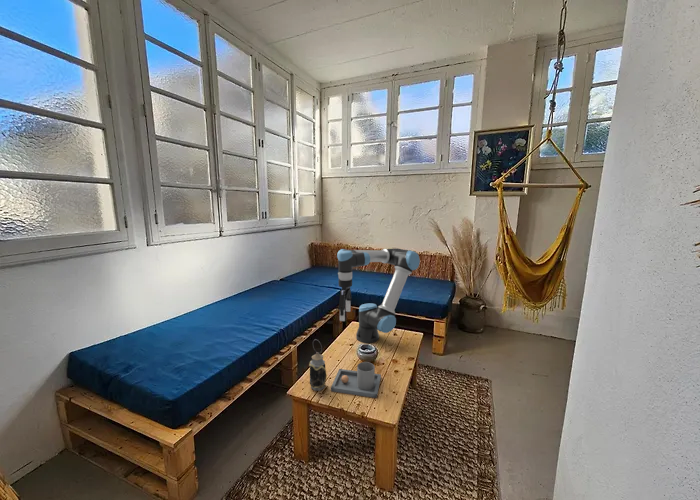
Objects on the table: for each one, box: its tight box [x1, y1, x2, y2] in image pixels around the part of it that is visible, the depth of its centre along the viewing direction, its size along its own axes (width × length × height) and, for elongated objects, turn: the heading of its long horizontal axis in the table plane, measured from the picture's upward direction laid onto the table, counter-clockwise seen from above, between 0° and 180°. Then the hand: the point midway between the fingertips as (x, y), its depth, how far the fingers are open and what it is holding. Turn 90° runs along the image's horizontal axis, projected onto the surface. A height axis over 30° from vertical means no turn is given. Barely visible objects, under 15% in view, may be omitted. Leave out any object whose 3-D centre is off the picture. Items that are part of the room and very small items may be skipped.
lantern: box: [308, 338, 327, 392], centre depth 137 cm, size 9×8×25 cm
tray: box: [330, 368, 382, 399], centre depth 141 cm, size 16×22×2 cm
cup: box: [356, 361, 376, 391], centre depth 139 cm, size 8×8×10 cm
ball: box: [341, 375, 349, 383], centre depth 142 cm, size 4×4×4 cm
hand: (345, 315), depth 160 cm, fingers open, 13 cm apart
